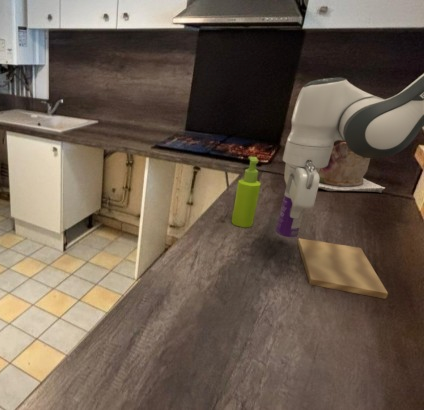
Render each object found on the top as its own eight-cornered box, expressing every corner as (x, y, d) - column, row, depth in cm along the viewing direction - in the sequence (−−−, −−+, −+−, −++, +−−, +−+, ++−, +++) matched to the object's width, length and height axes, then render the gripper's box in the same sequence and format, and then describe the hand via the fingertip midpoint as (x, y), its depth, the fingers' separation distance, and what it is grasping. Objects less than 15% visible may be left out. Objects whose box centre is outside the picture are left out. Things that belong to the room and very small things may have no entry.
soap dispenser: (250, 218, 111) (263, 155, 103) (253, 228, 104) (267, 162, 96) (230, 216, 112) (241, 154, 104) (232, 226, 106) (244, 161, 98)
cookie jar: (347, 172, 151) (371, 94, 138) (386, 194, 128) (419, 102, 116) (286, 171, 153) (304, 93, 140) (313, 192, 131) (338, 101, 118)
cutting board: (359, 252, 92) (360, 247, 91) (385, 299, 75) (388, 293, 74) (297, 242, 97) (298, 238, 96) (309, 284, 80) (311, 278, 79)
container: (270, 231, 88) (284, 174, 82) (285, 228, 90) (299, 172, 84) (286, 240, 84) (302, 180, 78) (301, 237, 86) (317, 178, 80)
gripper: (333, 170, 69) (315, 233, 75) (314, 146, 87) (301, 198, 92) (296, 166, 71) (281, 228, 77) (285, 143, 89) (273, 195, 94)
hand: (292, 211), depth 85 cm, fingers closed on container, 4 cm apart
